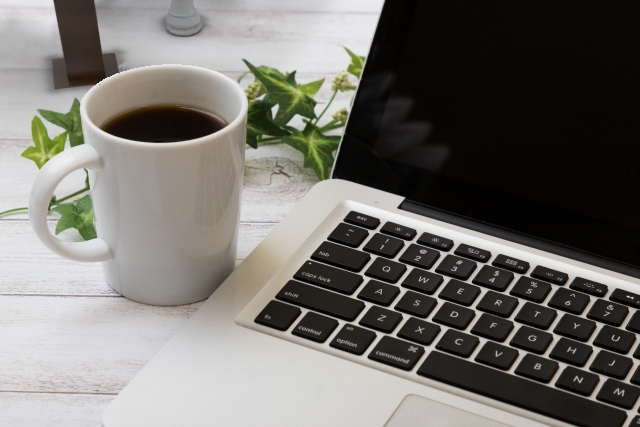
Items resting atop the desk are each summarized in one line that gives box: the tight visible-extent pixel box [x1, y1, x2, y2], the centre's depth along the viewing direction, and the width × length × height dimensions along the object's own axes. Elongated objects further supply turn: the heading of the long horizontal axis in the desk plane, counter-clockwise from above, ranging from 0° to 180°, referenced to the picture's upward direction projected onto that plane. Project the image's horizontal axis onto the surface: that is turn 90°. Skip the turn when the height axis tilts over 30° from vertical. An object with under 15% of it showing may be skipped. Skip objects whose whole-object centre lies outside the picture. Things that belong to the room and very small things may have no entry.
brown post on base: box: [51, 0, 120, 90], centre depth 80 cm, size 14×7×18 cm, turn 17°
